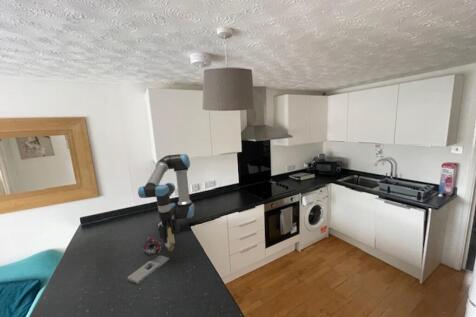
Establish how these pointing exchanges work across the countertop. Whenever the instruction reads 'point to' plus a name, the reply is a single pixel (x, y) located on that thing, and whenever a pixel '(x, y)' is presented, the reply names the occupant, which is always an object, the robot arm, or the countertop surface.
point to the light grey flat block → (142, 273)
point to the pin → (170, 238)
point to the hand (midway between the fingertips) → (170, 244)
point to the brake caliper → (152, 246)
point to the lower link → (159, 260)
